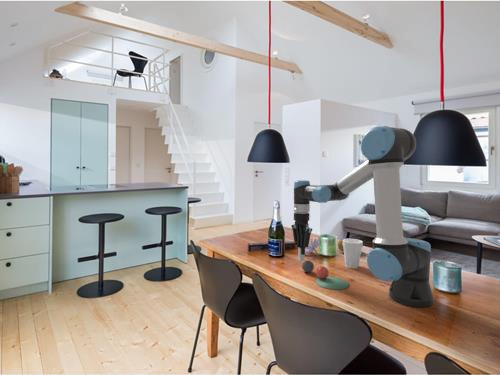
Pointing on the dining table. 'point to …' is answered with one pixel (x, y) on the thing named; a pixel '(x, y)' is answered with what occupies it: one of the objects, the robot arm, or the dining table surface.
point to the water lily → (312, 246)
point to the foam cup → (352, 252)
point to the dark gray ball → (308, 266)
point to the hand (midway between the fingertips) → (301, 260)
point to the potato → (340, 245)
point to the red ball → (322, 272)
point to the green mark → (332, 283)
